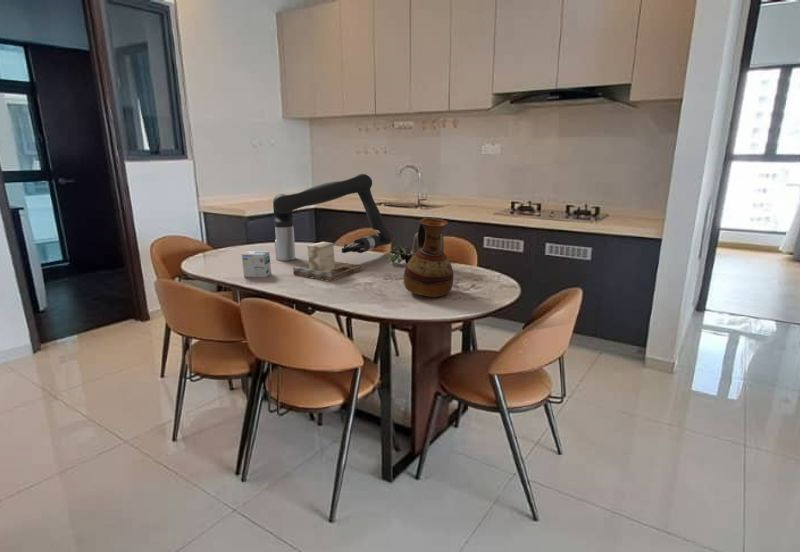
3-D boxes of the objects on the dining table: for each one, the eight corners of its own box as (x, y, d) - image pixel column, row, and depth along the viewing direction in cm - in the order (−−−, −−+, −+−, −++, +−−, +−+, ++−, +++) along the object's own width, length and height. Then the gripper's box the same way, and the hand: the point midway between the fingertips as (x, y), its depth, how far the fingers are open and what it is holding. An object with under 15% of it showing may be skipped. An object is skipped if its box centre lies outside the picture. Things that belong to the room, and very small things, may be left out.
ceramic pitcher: (416, 303, 173) (417, 223, 165) (395, 289, 191) (395, 216, 183) (462, 297, 181) (464, 220, 173) (437, 283, 199) (439, 213, 191)
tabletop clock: (443, 268, 224) (444, 216, 217) (442, 273, 215) (444, 219, 208) (413, 267, 225) (413, 215, 219) (411, 272, 217) (411, 218, 210)
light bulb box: (271, 273, 215) (269, 250, 212) (266, 277, 209) (264, 254, 206) (249, 273, 216) (247, 250, 213) (243, 277, 210) (241, 253, 207)
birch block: (309, 271, 211) (307, 245, 208) (323, 266, 219) (322, 241, 216) (320, 273, 208) (318, 247, 204) (334, 268, 216) (333, 243, 212)
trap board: (293, 274, 214) (293, 267, 213) (326, 263, 232) (326, 257, 231) (330, 281, 202) (330, 273, 201) (362, 269, 221) (361, 262, 220)
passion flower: (406, 274, 234) (420, 256, 229) (395, 275, 225) (409, 256, 220) (392, 259, 238) (405, 241, 233) (380, 259, 229) (394, 240, 224)
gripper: (353, 235, 241) (331, 241, 227) (374, 238, 234) (353, 244, 220) (354, 250, 243) (332, 256, 229) (375, 252, 236) (354, 260, 222)
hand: (342, 250), depth 224 cm, fingers closed
